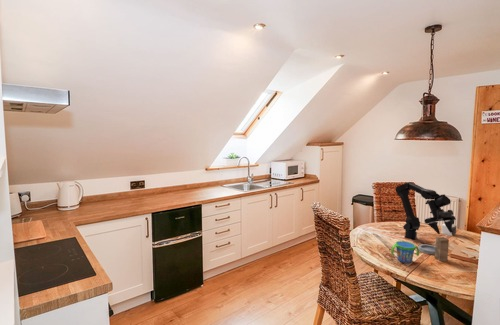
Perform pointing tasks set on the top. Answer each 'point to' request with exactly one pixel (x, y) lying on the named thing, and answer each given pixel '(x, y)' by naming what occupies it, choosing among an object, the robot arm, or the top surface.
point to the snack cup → (405, 251)
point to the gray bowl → (427, 249)
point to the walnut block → (441, 249)
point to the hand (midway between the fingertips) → (445, 233)
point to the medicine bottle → (446, 231)
